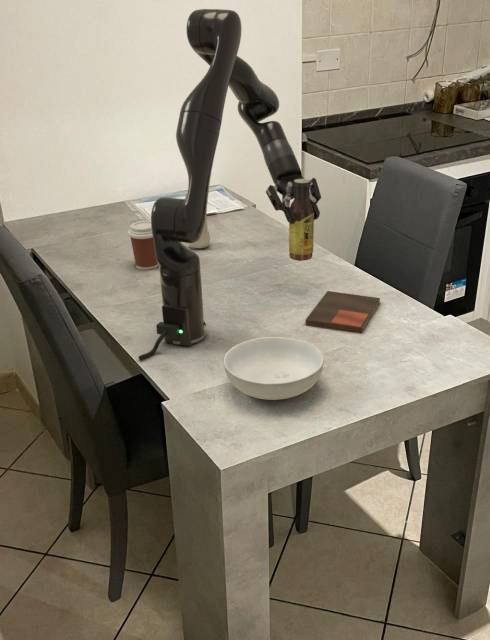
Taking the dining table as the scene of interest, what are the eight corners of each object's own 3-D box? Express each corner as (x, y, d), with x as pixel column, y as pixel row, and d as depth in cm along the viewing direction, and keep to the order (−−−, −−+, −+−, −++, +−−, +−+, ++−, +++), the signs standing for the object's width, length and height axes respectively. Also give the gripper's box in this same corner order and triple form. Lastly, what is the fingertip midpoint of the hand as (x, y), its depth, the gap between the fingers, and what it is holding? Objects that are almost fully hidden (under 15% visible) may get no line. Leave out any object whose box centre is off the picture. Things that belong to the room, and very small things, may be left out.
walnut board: (361, 333, 191) (361, 327, 190) (305, 325, 195) (305, 319, 194) (379, 303, 205) (380, 297, 204) (327, 296, 209) (327, 290, 208)
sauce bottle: (308, 263, 203) (308, 186, 193) (285, 260, 205) (284, 183, 195) (316, 254, 208) (318, 178, 198) (294, 251, 210) (294, 176, 200)
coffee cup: (125, 269, 226) (120, 228, 220) (140, 257, 234) (136, 218, 228) (154, 273, 224) (150, 231, 218) (168, 261, 231) (165, 221, 225)
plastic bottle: (213, 248, 239) (209, 182, 229) (191, 252, 237) (186, 185, 227) (207, 241, 245) (203, 176, 234) (185, 244, 242) (180, 179, 232)
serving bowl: (340, 377, 173) (341, 349, 169) (291, 423, 157) (291, 393, 154) (259, 354, 182) (258, 327, 178) (205, 396, 166) (203, 367, 163)
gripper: (261, 157, 196) (285, 217, 193) (311, 149, 202) (335, 208, 200) (251, 174, 203) (275, 232, 200) (300, 166, 209) (323, 222, 206)
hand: (305, 220), depth 200 cm, fingers closed on sauce bottle, 6 cm apart
